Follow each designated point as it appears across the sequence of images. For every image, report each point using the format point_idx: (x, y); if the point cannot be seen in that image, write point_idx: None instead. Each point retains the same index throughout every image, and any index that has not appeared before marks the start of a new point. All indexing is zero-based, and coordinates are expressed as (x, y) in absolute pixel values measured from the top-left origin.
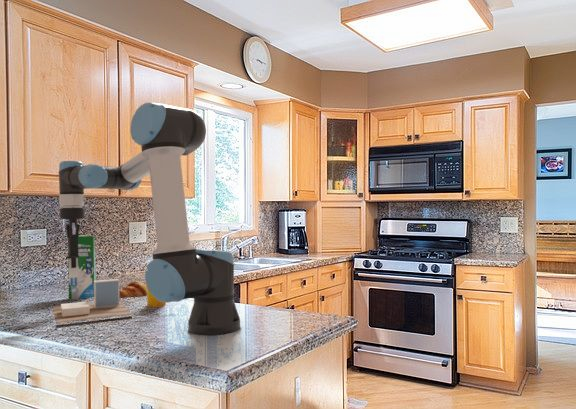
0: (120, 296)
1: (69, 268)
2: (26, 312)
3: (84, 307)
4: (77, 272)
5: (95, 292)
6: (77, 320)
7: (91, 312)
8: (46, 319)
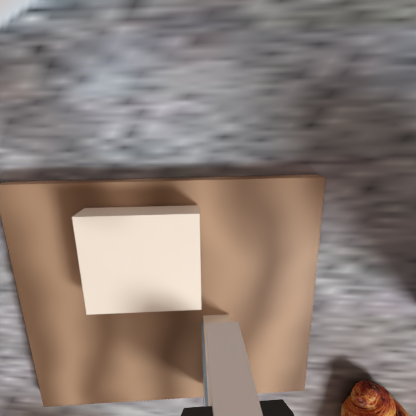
0: (353, 399)
1: (212, 387)
2: (362, 70)
3: (84, 296)
4: (209, 400)
5: (205, 365)
6: (10, 255)
7: None
8: (173, 149)
